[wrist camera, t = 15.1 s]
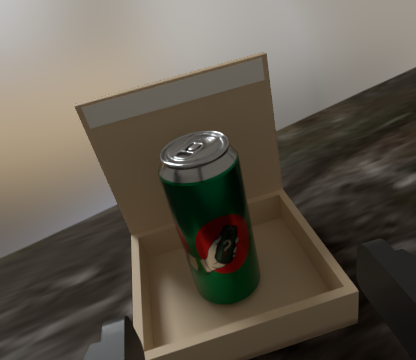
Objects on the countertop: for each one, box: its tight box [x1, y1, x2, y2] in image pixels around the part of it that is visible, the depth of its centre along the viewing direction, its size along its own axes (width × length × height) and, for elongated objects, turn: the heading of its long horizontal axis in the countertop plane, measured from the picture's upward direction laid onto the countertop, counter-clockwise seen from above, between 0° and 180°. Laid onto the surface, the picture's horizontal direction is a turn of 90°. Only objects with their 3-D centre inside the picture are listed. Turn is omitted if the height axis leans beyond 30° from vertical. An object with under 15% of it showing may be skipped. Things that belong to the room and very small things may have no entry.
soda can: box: [158, 131, 261, 305], centre depth 24 cm, size 5×5×12 cm
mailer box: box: [75, 52, 359, 360], centre depth 24 cm, size 14×13×15 cm
